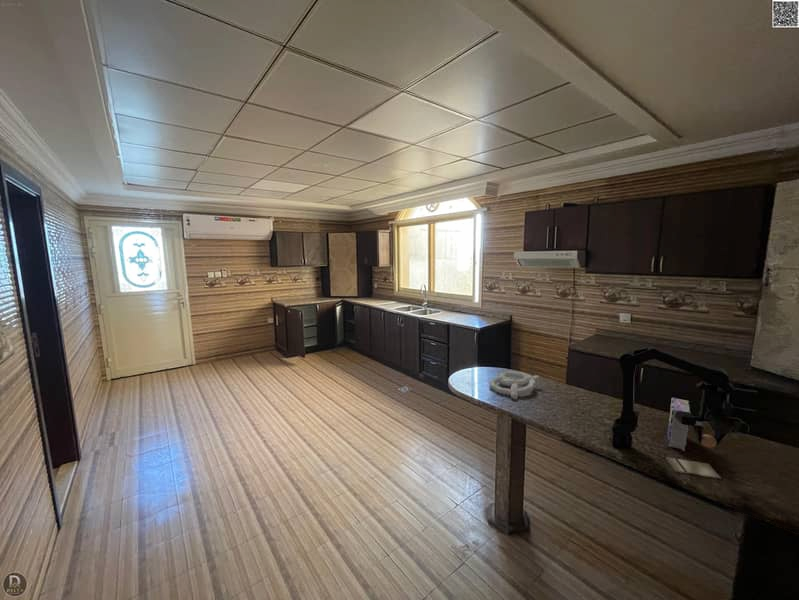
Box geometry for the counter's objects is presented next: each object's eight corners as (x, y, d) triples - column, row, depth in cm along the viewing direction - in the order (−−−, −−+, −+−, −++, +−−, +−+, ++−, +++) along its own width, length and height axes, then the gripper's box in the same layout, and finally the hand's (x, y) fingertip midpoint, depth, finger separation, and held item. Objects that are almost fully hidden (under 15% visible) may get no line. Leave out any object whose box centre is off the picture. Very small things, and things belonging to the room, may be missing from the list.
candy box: (667, 431, 144) (671, 396, 141) (684, 436, 140) (689, 400, 138) (667, 446, 133) (671, 408, 131) (686, 451, 130) (691, 413, 127)
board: (675, 471, 118) (675, 469, 118) (666, 458, 126) (666, 456, 126) (720, 479, 114) (721, 477, 114) (708, 465, 121) (708, 463, 121)
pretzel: (520, 405, 173) (519, 394, 172) (482, 392, 191) (482, 382, 190) (545, 384, 190) (545, 374, 189) (509, 374, 208) (508, 365, 207)
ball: (703, 448, 116) (704, 437, 115) (696, 442, 120) (697, 431, 119) (718, 451, 114) (720, 439, 114) (711, 444, 118) (713, 432, 118)
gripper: (691, 409, 110) (686, 451, 113) (763, 417, 104) (757, 462, 106) (676, 395, 121) (672, 434, 123) (741, 402, 115) (735, 443, 117)
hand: (707, 443), depth 117 cm, fingers closed on ball, 4 cm apart
